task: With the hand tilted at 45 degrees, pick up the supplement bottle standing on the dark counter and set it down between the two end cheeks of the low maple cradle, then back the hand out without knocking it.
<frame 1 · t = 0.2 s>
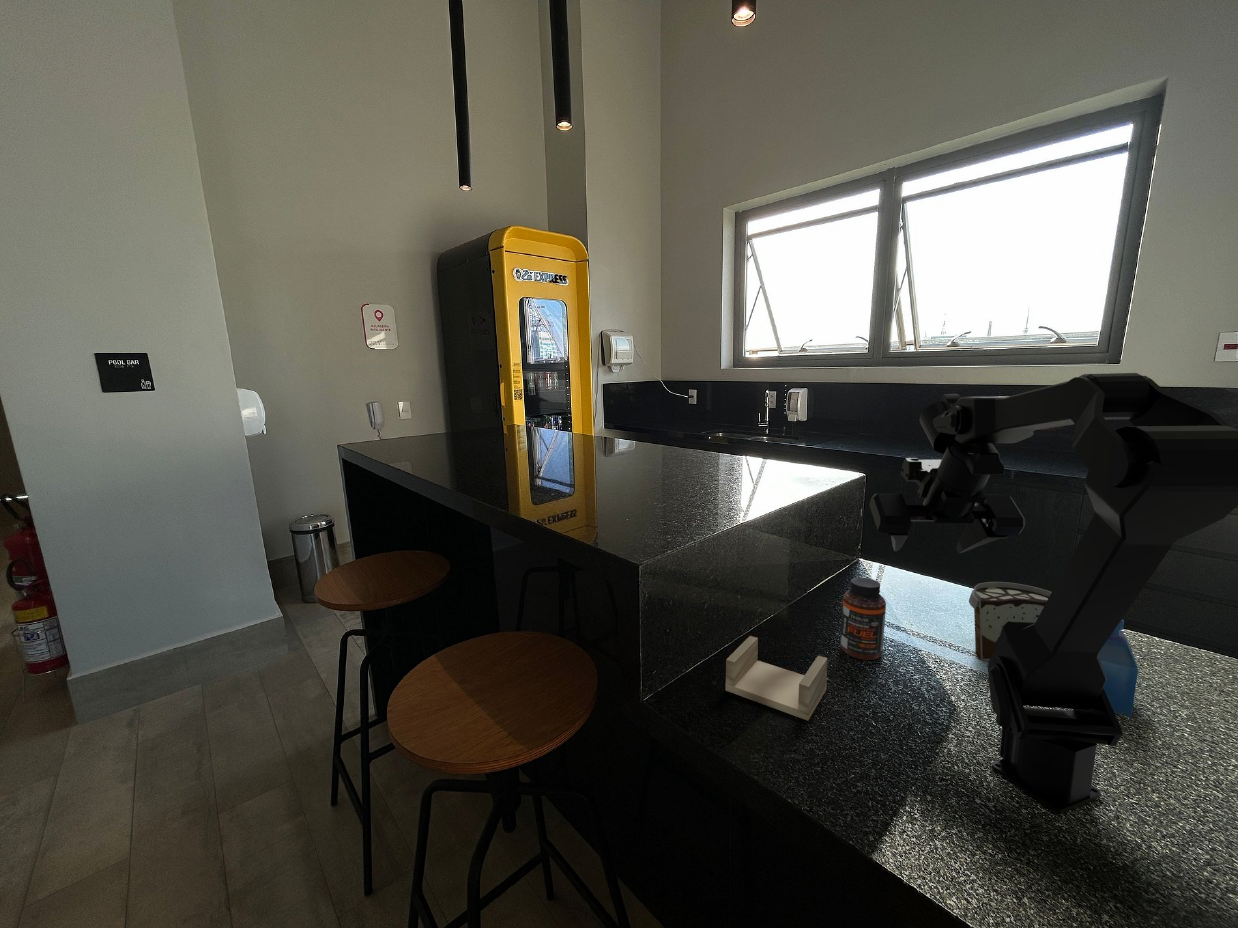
hand: (926, 549, 79), 15 cm above the counter, tool tilted 35°, fingers open, 9 cm apart
perfume bottle: (1094, 696, 67), on the counter
food container: (1001, 651, 78), on the counter
cradle: (775, 689, 69), on the counter
supplement bottle: (860, 652, 78), on the counter
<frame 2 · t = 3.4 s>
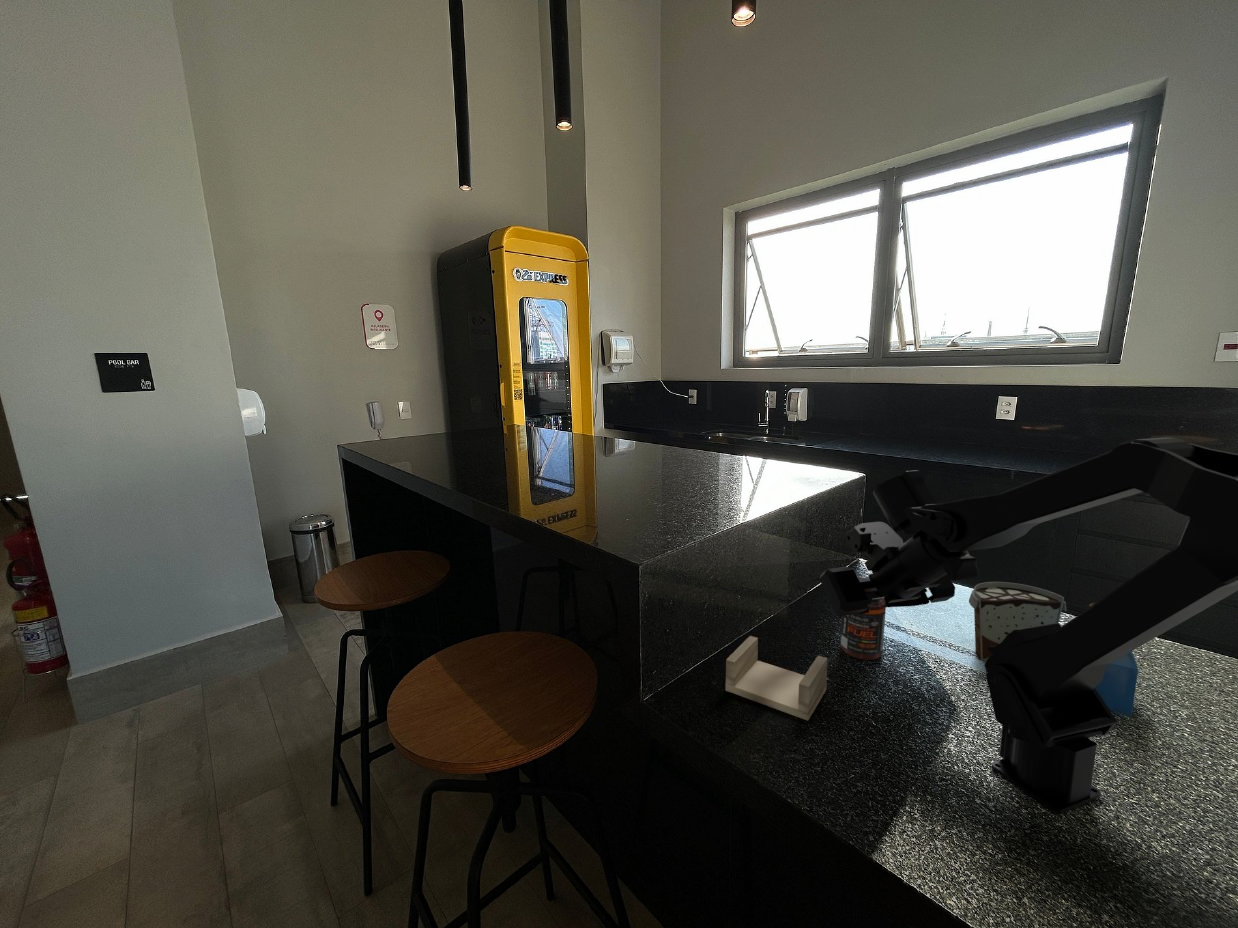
hand: (856, 607, 79), 7 cm above the counter, tool tilted 45°, fingers closed on supplement bottle, 6 cm apart
supplement bottle: (860, 652, 78), on the counter, touching gripper
everything else where it was.
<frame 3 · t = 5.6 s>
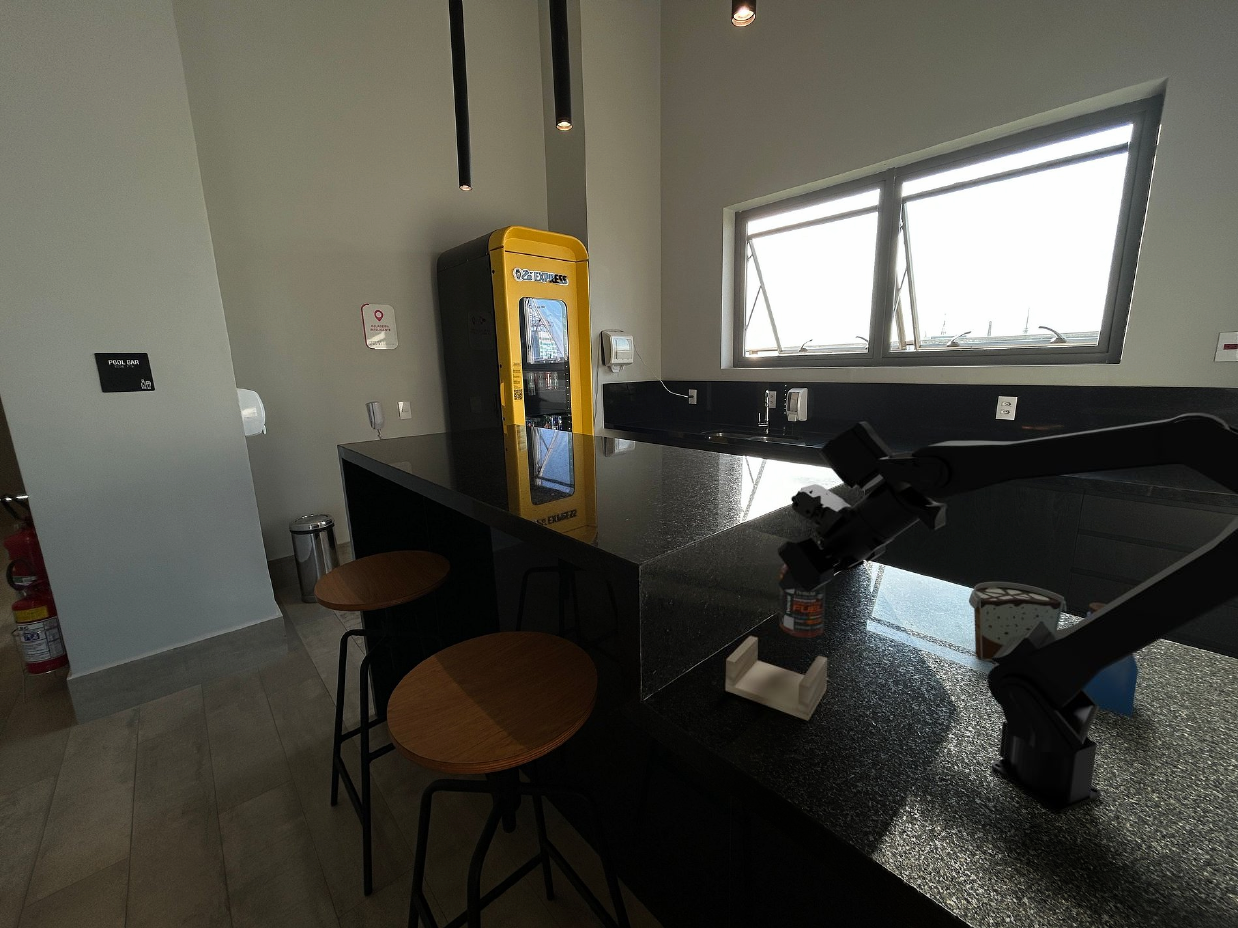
hand: (793, 580, 72), 13 cm above the counter, tool tilted 45°, fingers closed on supplement bottle, 6 cm apart
supplement bottle: (801, 630, 72), point 6 cm above the counter, touching gripper
everything else where it was.
when the fingers open (9 cm above the counter, at t = 7.5 s): supplement bottle stays where it is, resting on cradle.
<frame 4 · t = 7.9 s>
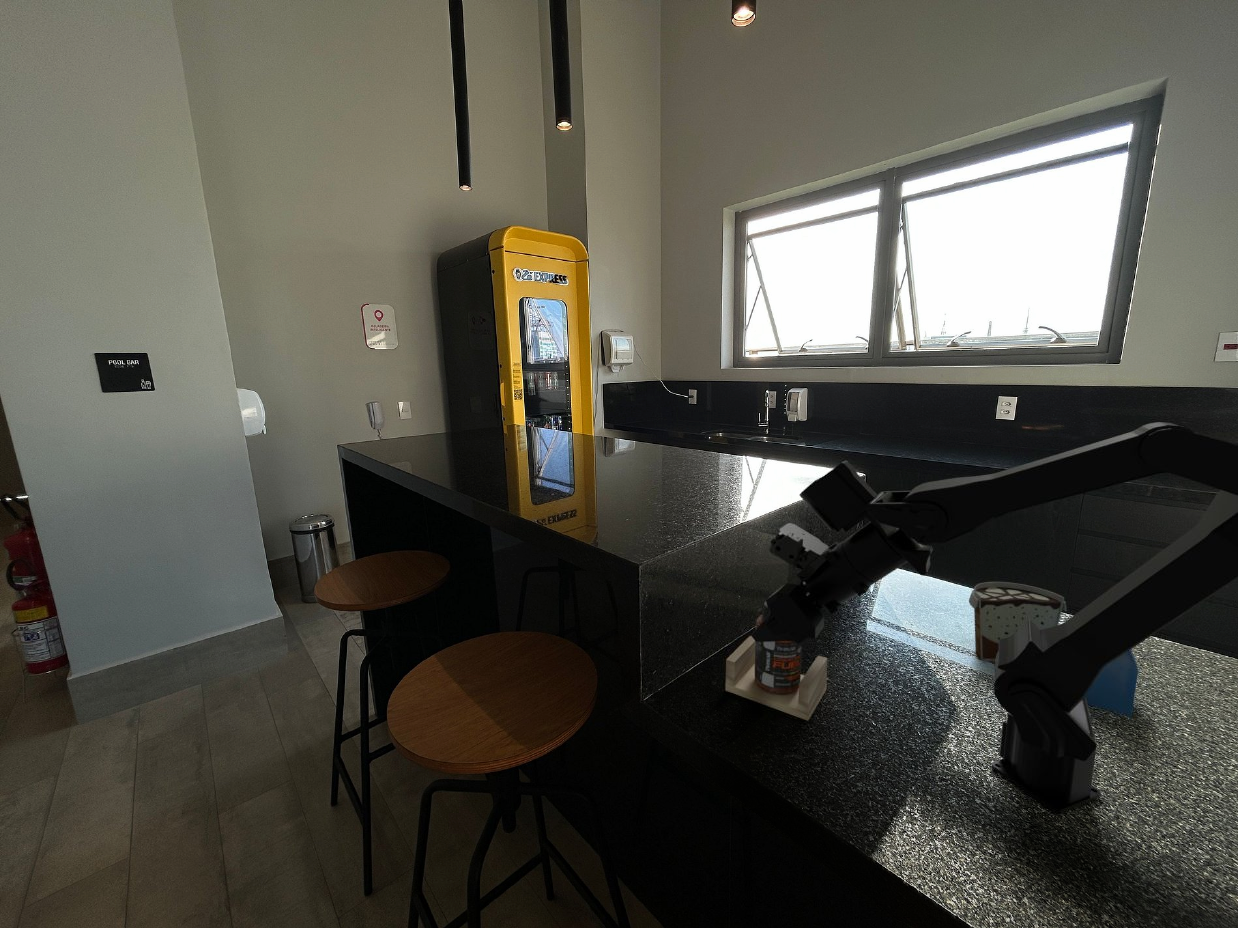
hand: (767, 624, 69), 9 cm above the counter, tool tilted 45°, fingers open, 9 cm apart
supplement bottle: (777, 684, 69), point 1 cm above the counter, touching cradle
everything else where it was.
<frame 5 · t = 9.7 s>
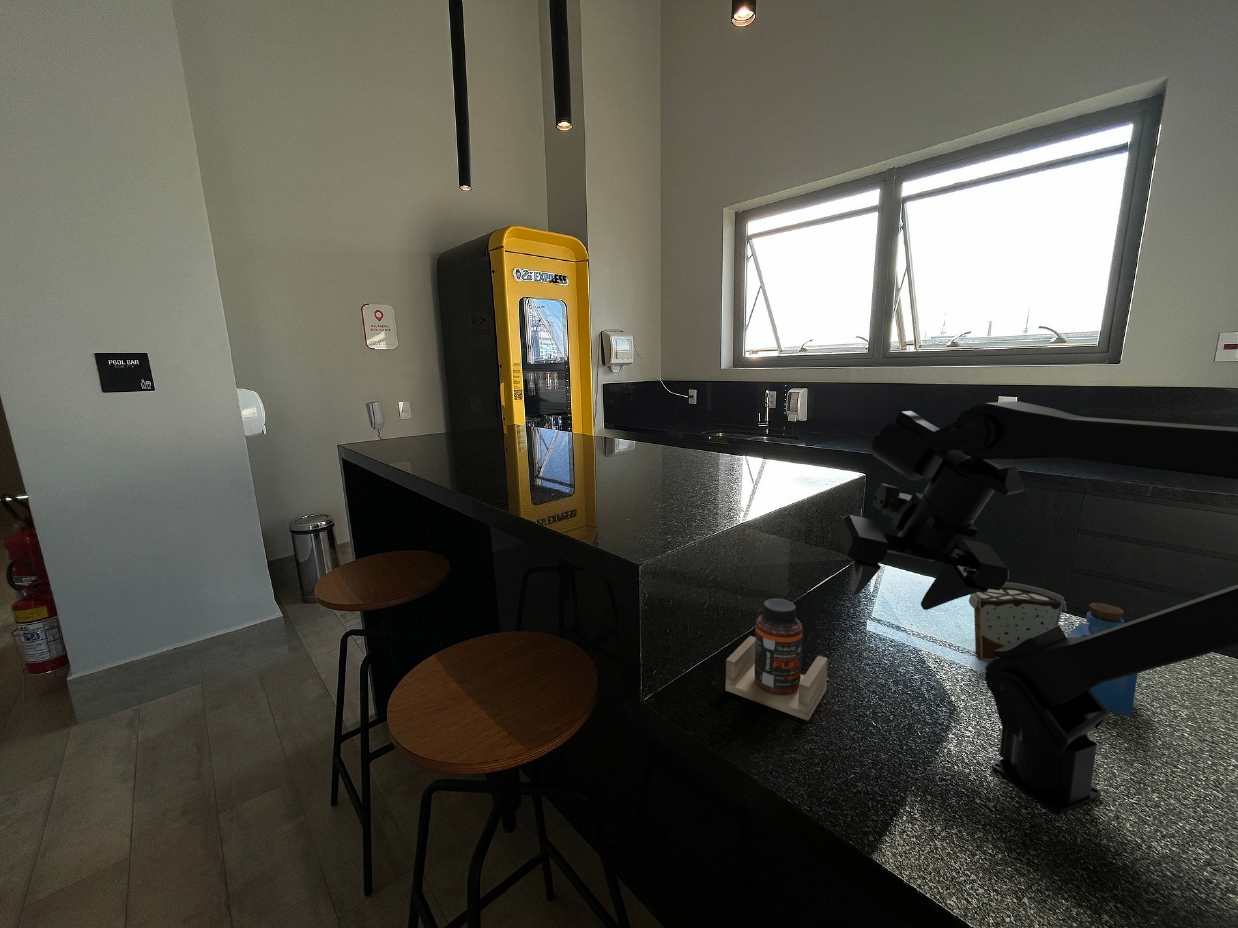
hand: (888, 599, 66), 13 cm above the counter, tool tilted 25°, fingers open, 9 cm apart
nothing on the counter moved.
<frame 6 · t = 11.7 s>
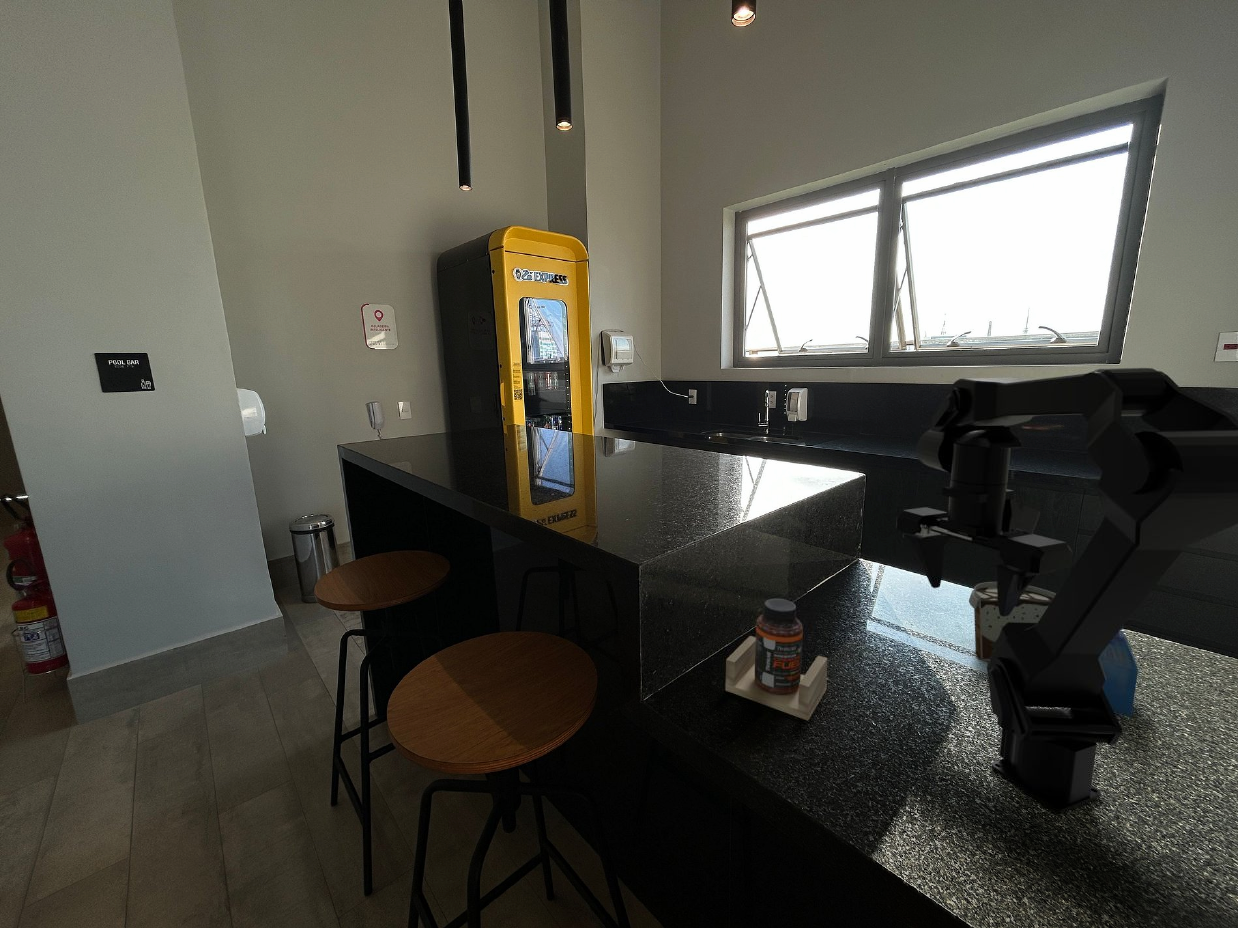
hand: (967, 600, 65), 13 cm above the counter, tool pointing down, fingers open, 9 cm apart
nothing on the counter moved.
at the end: supplement bottle 0.2 cm from the cradle (horizontally); supplement bottle point 0.8 cm above the counter; supplement bottle tilted 0° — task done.
